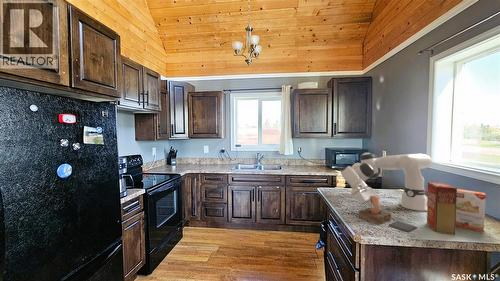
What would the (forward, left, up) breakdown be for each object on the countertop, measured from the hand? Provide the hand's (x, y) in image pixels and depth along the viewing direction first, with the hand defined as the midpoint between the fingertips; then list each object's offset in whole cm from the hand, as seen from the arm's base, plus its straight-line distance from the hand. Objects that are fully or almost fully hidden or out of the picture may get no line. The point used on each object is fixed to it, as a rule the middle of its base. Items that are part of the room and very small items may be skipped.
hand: (375, 206), depth 137 cm
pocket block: (0, -1, -8) cm, 8 cm away
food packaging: (-18, +26, -8) cm, 33 cm away
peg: (0, -1, -8) cm, 8 cm away
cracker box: (-34, +33, -8) cm, 48 cm away
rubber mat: (-2, +14, -8) cm, 16 cm away
